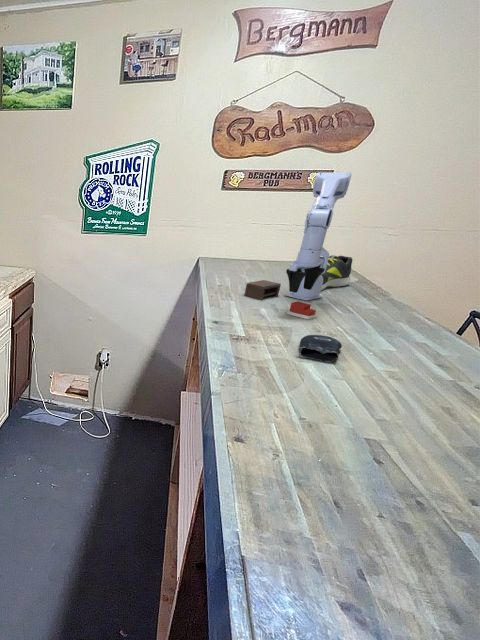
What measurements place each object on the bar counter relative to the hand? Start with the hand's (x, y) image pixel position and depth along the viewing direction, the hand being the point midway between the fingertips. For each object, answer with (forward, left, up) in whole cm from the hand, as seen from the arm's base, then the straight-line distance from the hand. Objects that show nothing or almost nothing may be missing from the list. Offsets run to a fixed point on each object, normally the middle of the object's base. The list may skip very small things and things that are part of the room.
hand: (300, 290), depth 150 cm
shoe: (-1, +2, -8) cm, 8 cm away
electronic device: (+26, +23, -8) cm, 36 cm away
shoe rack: (-12, -20, -8) cm, 25 cm away
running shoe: (-45, -19, -8) cm, 50 cm away
